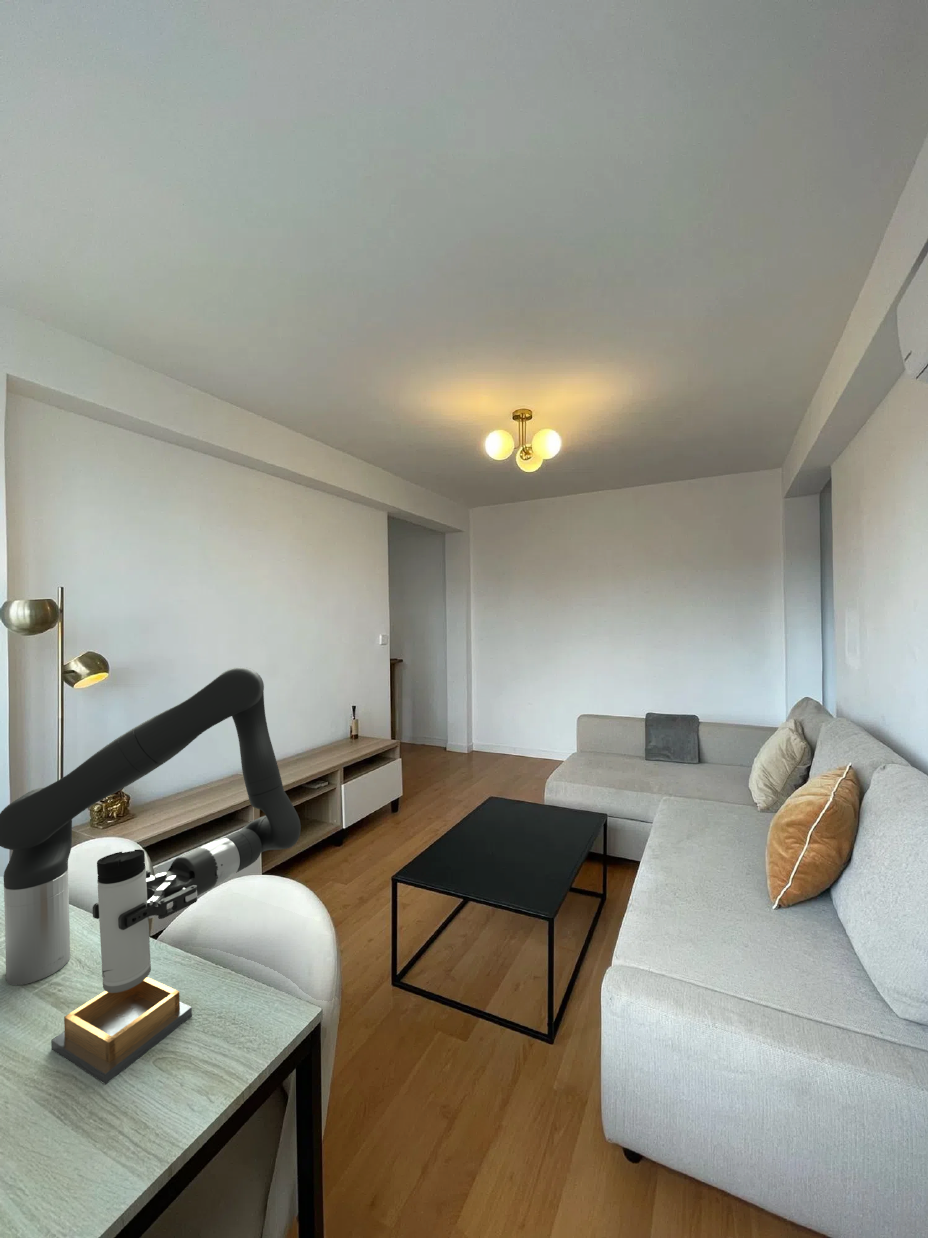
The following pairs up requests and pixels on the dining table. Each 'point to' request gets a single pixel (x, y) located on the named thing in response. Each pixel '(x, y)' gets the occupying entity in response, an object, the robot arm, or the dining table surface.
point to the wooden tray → (119, 1028)
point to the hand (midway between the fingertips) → (107, 918)
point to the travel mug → (116, 895)
